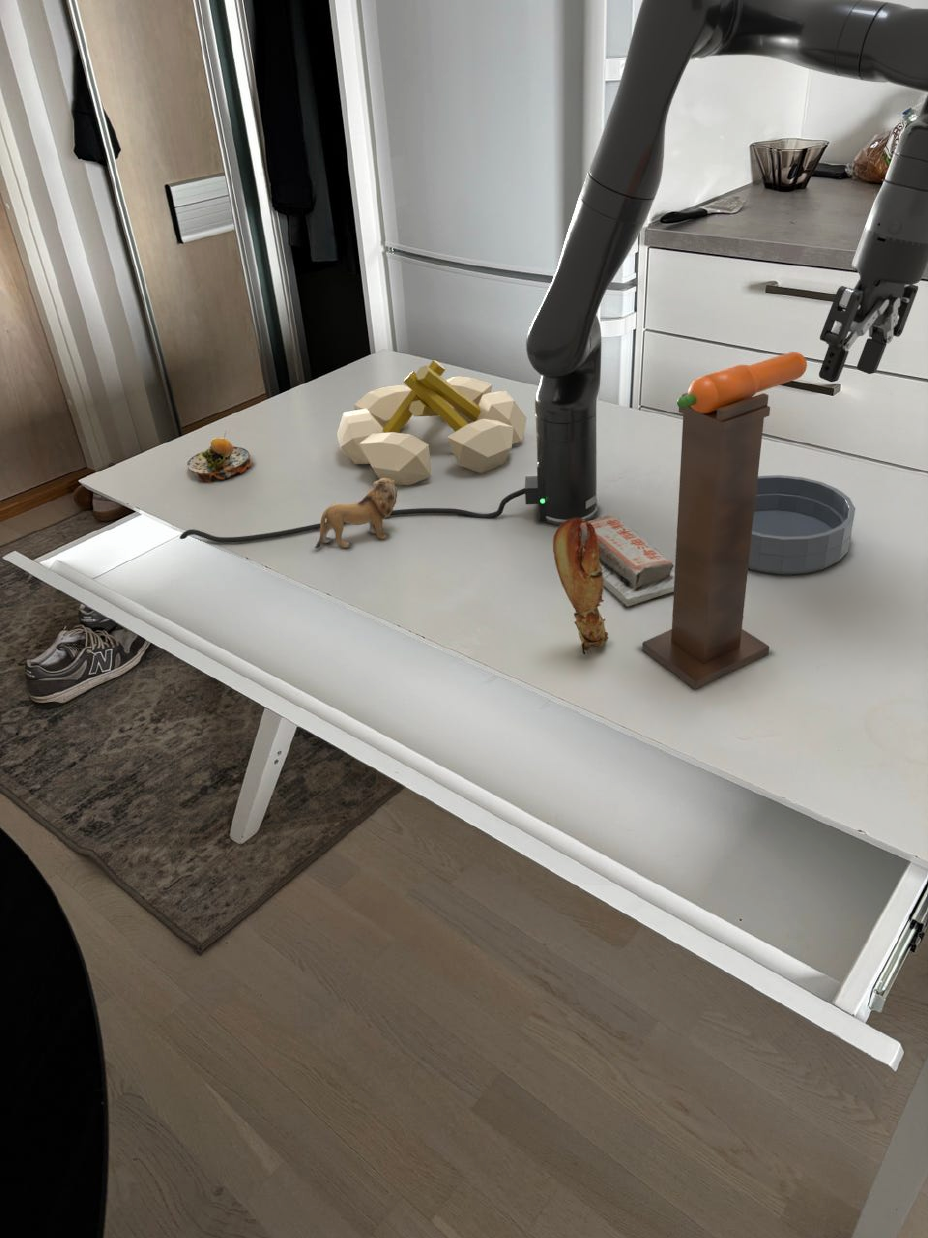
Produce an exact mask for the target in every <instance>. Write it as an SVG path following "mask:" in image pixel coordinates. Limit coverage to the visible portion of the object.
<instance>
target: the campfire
mask: <svg viewBox="0 0 928 1238" xmlns="http://www.w3.org/2000/svg"><path fill="white" fill-rule="evenodd" d="M445 371H446V368H445V367H444V366H443V365H442V364H441V363H439V362H438V361H437V360H435V359H433V360H432V361H431V362H430V364H429V365H422V366H420V367H419V368H418V370H417V371H414V370H412V371H411V372H410V373H409V374H408V375H407V376H406V377H405V378H404V380H403V381H402V382H403V384H396V385H395V384H394V385H388V386H381V387H379V388H376V389H373V390H370V391H367V392H366V393H365V394H364V395H363V396H362V397H361V398H360V399H359V400H357V401H356V402H355V403H354V404H353V407H354V410H350V411H344V412H343V413H342V417H341V420H340V423H339V426H338V430H337V434H336V438H337V441H338V444H339V448H341V450H342V451H343V452H344V453H345V454H346V455H347V456H348V458H350V460H351V461H352V463H354V465H370V466H371V468H372V469H373V471H374V473H375V474H376V476H377V477H378V480H379V479H381V478H387V479H391V480H394V481H395V485H400V486H406V487H407V486H410V485H413V484H416V483H419V482H421V481H423V480H427V479H428V478H432V477H433V475H432V473H433V472H432V464H431V454H430V446H429V444H428V443H426V442H425V441H423V440H421V439H419V438H418V437H416V436H414V435H412V434H410V433H402V432H401V431H402V430H403V429H405V427H406V424H407V423H408V422H409V421H410V419H411V418H412V416H414V417H439V418H440V419H442V420H443V421H444V423H446V424H447V425H448V426H449V427H450V428H451V429H452V430H453V431H454V432H453V433H451V434H450V435H449V436H447V437H446V438H447V441H448V444H449V445H450V448H451V451H452V453H453V455H454V457H455V460H456V462H457V464H458V465H459V466H461V467H463V468H466V469H469V470H471V471H474V472H476V473H479V474H484V473H486V472H489V471H490V470H493V469H495V468H498V467H500V466H503V465H505V463H506V461H507V459H508V456H509V455H510V452H511V450H512V448H513V444H517V443H518V444H519V443H522V442H523V439H524V434H525V429H526V428H525V427H526V423H527V416H526V415H525V413H524V412H523V411H522V409H521V408H520V407H519V405H518V404H517V402H516V401H515V400H514V399H513V397H512V396H511V395H510V394H509V393H508V392H507V391H506V390H500V391H494V392H492V389H493V383H490V382H487V381H483V380H480V379H477V378H474V377H467V376H458V375H457V376H453V377H449V378H447V379H444V377H442V376H443V374H444V373H445ZM404 384H405V385H404Z"/></svg>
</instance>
